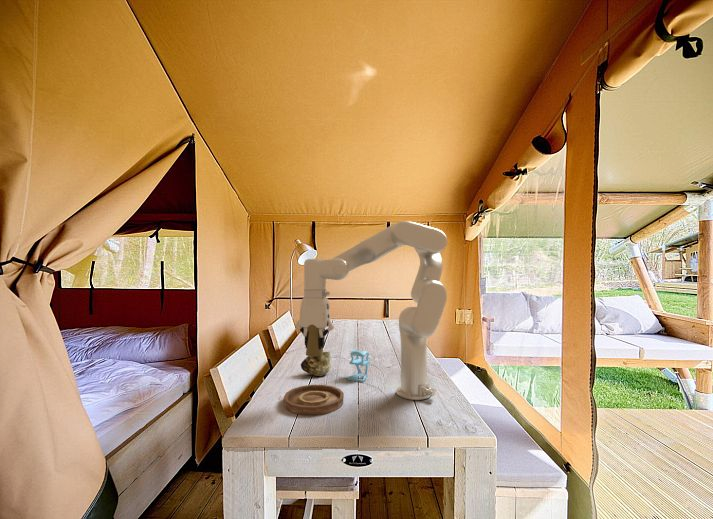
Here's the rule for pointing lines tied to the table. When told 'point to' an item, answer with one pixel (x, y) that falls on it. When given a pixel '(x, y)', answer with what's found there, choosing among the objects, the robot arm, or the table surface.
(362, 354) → the chair
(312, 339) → the cork
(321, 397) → the ring tray
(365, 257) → the robot arm
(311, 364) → the seashell
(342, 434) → the table surface
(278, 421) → the table surface
